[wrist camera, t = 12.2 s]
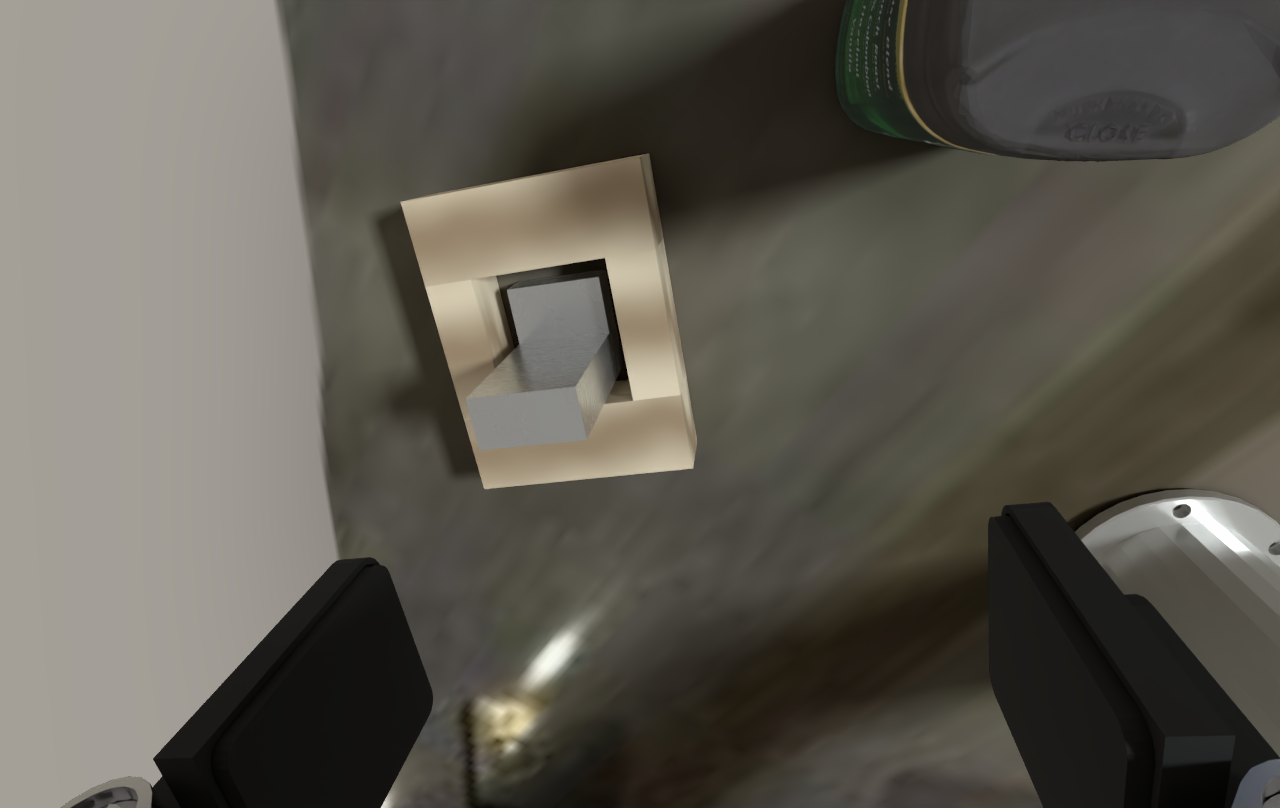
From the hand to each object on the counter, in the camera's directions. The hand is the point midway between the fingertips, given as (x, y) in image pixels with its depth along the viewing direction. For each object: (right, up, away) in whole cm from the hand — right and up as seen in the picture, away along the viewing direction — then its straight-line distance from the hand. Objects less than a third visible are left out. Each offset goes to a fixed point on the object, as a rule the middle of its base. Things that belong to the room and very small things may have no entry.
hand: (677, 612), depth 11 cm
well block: (-5, +8, +28) cm, 30 cm away
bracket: (-4, +8, +28) cm, 30 cm away
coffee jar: (+13, +19, +21) cm, 32 cm away
